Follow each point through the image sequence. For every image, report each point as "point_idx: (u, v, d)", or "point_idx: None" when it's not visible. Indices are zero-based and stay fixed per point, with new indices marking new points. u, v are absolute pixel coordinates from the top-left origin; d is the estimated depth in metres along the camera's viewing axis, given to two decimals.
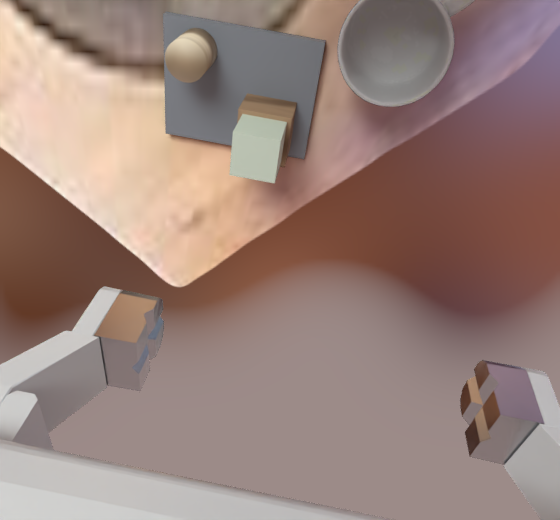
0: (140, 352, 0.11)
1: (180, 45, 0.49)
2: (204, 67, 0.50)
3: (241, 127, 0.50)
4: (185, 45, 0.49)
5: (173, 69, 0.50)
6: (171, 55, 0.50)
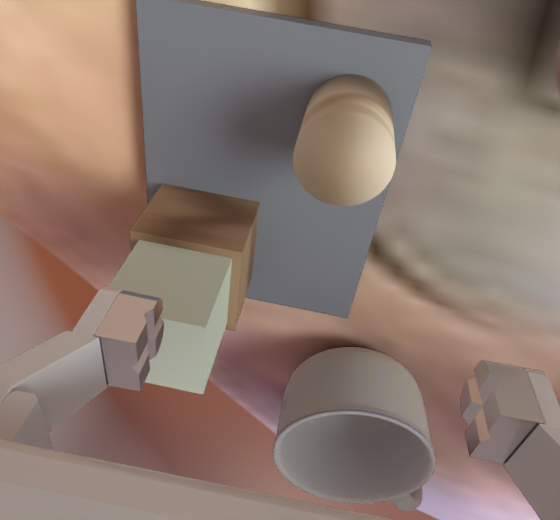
0: (140, 352, 0.11)
1: (381, 157, 0.20)
2: (329, 202, 0.22)
3: (213, 314, 0.22)
4: (380, 169, 0.20)
5: (324, 129, 0.20)
6: (359, 132, 0.20)
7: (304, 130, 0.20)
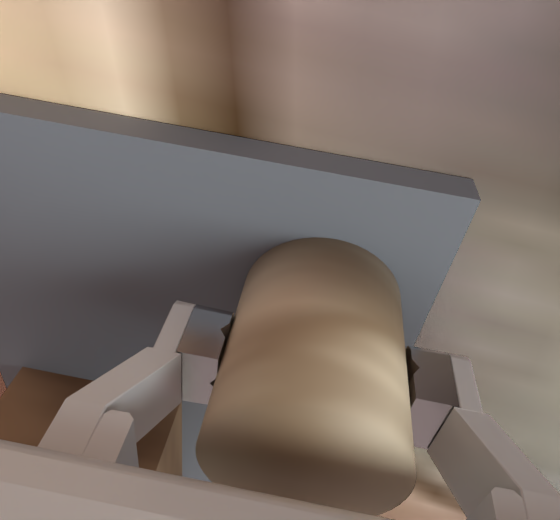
0: None
1: (383, 472, 0.09)
2: None
3: None
4: (381, 486, 0.09)
5: (257, 424, 0.09)
6: (334, 435, 0.09)
7: (213, 420, 0.09)
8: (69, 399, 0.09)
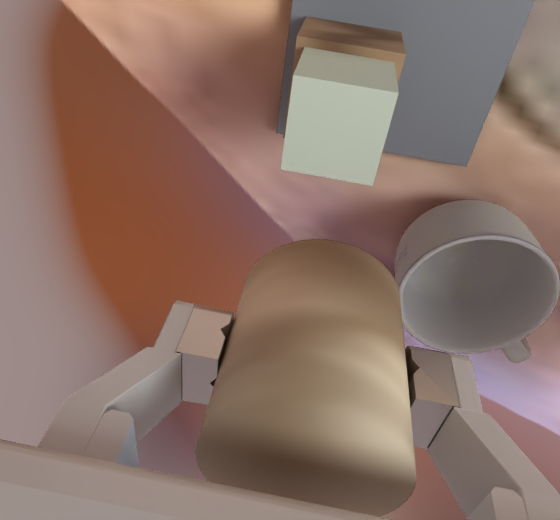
0: None
1: (383, 474, 0.09)
2: None
3: None
4: (381, 488, 0.09)
5: (257, 427, 0.09)
6: (333, 437, 0.09)
7: (213, 422, 0.09)
8: (69, 399, 0.09)
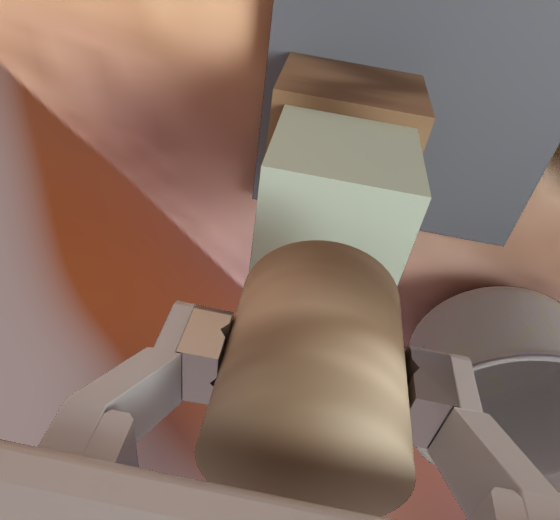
0: None
1: (383, 475, 0.09)
2: None
3: None
4: (380, 489, 0.09)
5: (256, 427, 0.09)
6: (333, 438, 0.09)
7: (212, 423, 0.09)
8: (69, 399, 0.09)
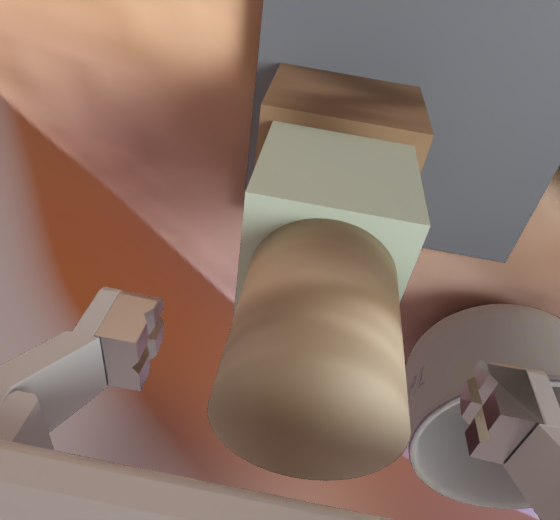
0: (140, 352, 0.11)
1: (380, 428, 0.10)
2: (284, 473, 0.12)
3: None
4: (378, 442, 0.10)
5: (265, 382, 0.10)
6: (335, 391, 0.09)
7: (224, 379, 0.10)
8: None
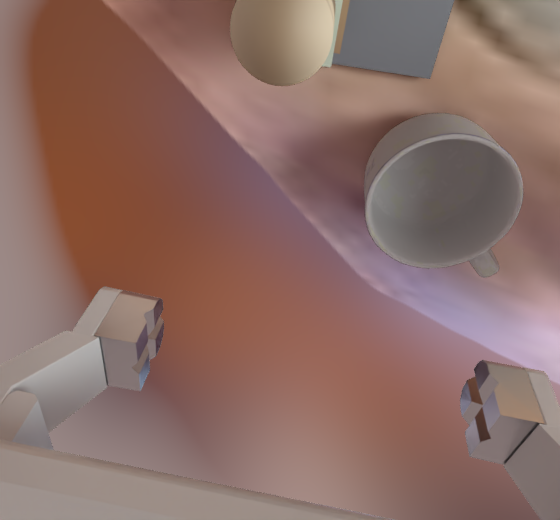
0: (140, 352, 0.11)
1: (318, 25, 0.20)
2: (271, 82, 0.21)
3: None
4: (318, 39, 0.20)
5: None
6: None
7: None
8: None
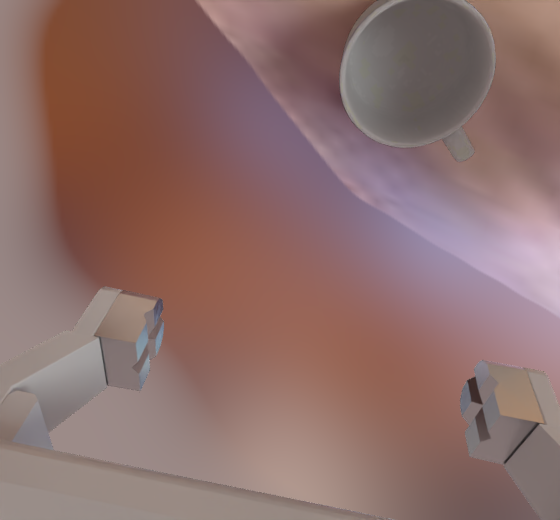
0: (140, 352, 0.11)
1: None
2: None
3: None
4: None
5: None
6: None
7: None
8: None
